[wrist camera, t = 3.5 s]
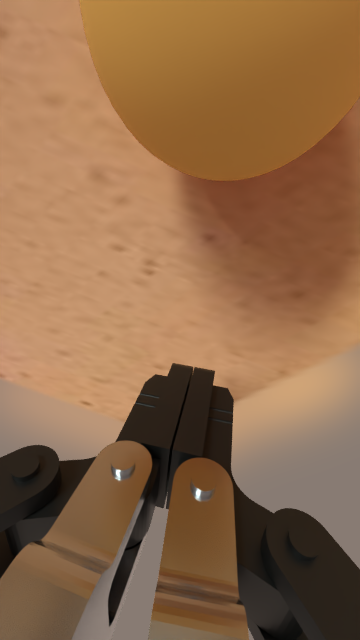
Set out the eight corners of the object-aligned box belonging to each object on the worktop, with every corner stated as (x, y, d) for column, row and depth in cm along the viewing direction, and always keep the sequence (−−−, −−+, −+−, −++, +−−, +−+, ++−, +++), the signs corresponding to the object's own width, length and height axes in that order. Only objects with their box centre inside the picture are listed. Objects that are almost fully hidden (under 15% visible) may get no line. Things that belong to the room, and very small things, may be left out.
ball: (142, -83, 7) (-108, -753, 2) (388, -91, 7) (973, -1193, 1) (137, 173, 10) (21, 160, 5) (313, 190, 9) (409, 197, 4)
